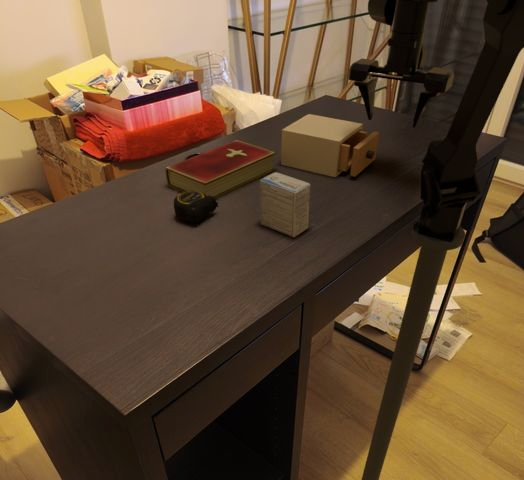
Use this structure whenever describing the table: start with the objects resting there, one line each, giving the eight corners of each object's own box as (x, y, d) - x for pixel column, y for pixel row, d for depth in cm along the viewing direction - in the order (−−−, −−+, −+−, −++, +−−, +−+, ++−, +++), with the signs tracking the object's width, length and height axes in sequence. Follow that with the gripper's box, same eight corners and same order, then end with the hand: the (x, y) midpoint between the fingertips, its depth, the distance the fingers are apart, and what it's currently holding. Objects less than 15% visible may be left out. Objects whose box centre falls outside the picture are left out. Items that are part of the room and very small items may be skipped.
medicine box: (308, 229, 86) (311, 183, 81) (293, 239, 84) (295, 192, 78) (275, 216, 90) (275, 170, 84) (259, 224, 88) (259, 178, 82)
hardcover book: (167, 185, 100) (164, 165, 97) (236, 156, 112) (235, 138, 109) (206, 202, 94) (205, 181, 92) (275, 170, 106) (275, 150, 103)
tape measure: (195, 228, 87) (193, 209, 84) (167, 218, 90) (165, 199, 87) (219, 214, 91) (217, 195, 88) (191, 204, 94) (190, 186, 91)
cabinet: (358, 158, 111) (363, 123, 106) (335, 177, 103) (339, 141, 98) (306, 147, 116) (308, 113, 111) (280, 164, 108) (281, 129, 103)
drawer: (380, 159, 108) (384, 133, 104) (360, 177, 101) (364, 150, 97) (325, 148, 113) (327, 122, 109) (303, 164, 106) (304, 137, 102)
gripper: (471, 28, 87) (449, 119, 97) (374, 19, 94) (362, 105, 104) (456, 39, 80) (433, 136, 90) (352, 29, 87) (342, 120, 97)
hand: (391, 123), depth 96 cm, fingers open, 9 cm apart
